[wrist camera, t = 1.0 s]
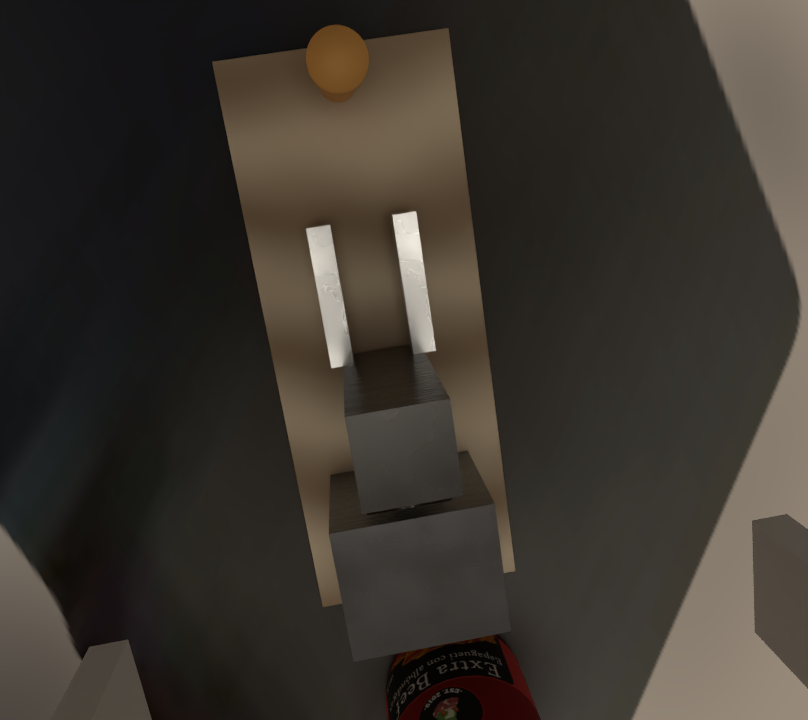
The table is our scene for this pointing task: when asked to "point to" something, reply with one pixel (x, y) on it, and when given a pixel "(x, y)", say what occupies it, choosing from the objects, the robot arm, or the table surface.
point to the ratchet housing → (418, 569)
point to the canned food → (459, 683)
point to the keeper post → (337, 61)
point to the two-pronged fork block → (391, 385)
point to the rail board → (360, 246)
